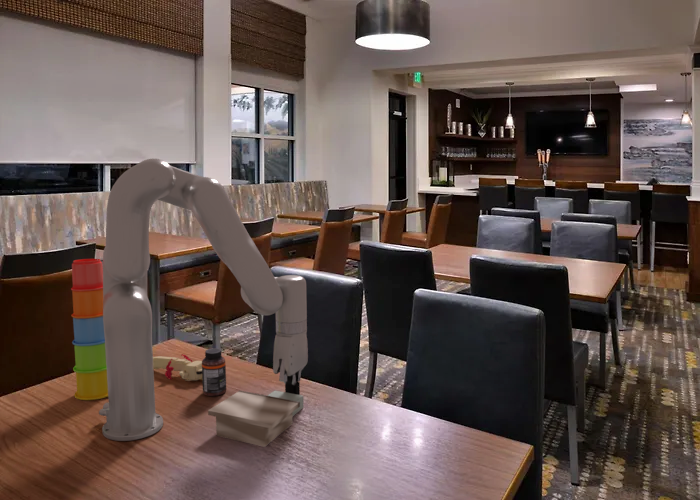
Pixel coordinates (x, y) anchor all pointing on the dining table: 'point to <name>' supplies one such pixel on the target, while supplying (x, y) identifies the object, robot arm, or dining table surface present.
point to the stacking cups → (89, 329)
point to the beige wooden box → (253, 417)
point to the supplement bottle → (213, 373)
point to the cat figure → (179, 367)
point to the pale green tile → (289, 398)
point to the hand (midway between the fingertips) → (292, 397)
